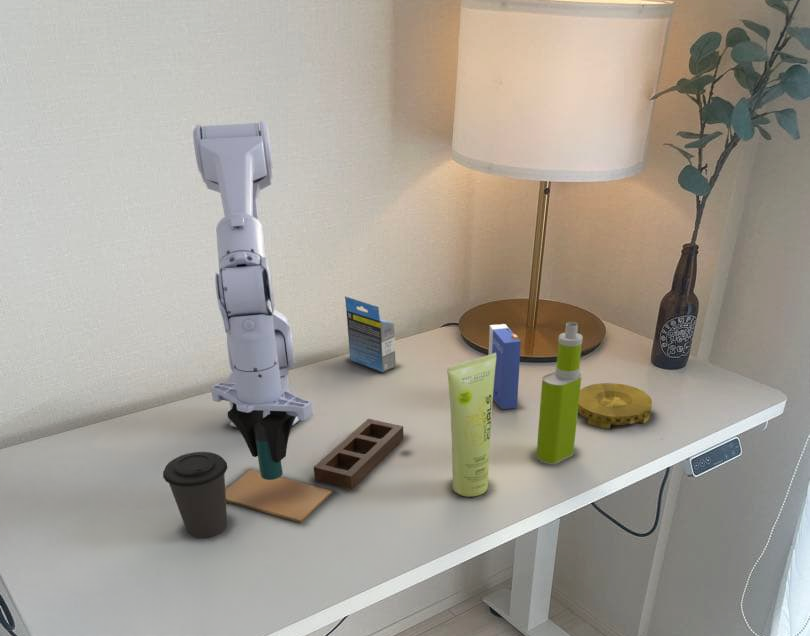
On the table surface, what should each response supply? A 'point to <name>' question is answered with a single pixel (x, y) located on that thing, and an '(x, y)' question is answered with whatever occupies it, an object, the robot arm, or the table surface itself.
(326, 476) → the pen stand
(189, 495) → the coffee cup
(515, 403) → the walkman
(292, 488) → the cork mat
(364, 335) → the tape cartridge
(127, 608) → the table surface
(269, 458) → the teal capped bottle
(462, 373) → the tube
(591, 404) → the yellow flat disc
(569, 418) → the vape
